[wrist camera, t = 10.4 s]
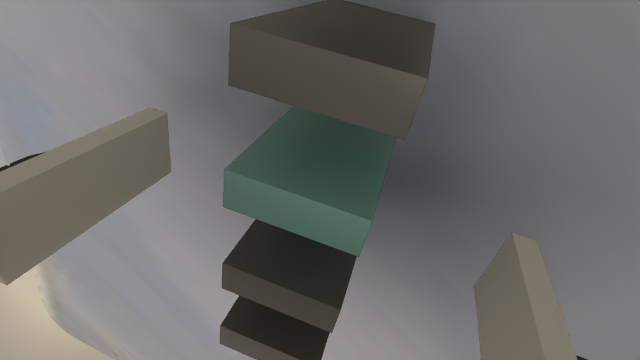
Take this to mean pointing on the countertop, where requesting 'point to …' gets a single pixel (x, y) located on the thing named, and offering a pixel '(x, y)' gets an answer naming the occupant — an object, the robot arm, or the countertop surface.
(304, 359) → the domino
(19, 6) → the countertop surface
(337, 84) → the domino
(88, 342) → the countertop surface
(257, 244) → the domino
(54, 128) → the countertop surface
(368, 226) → the domino
